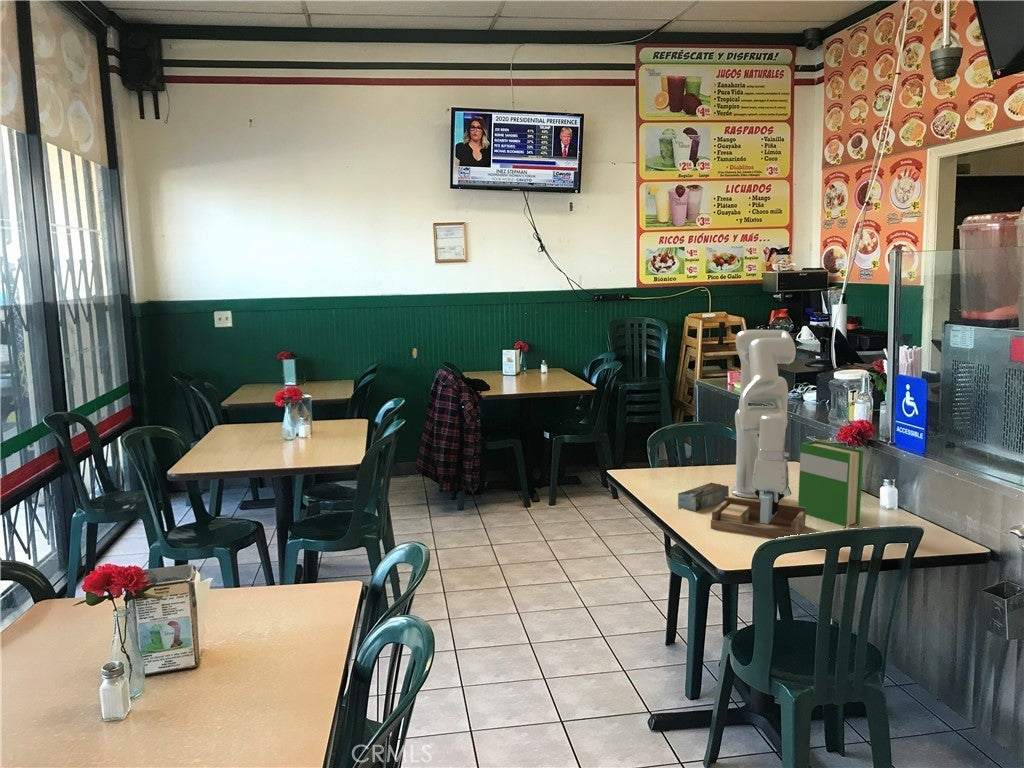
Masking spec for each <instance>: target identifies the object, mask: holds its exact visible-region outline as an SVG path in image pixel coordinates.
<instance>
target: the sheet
mask: <svg viewBox="0 0 1024 768" xmlns="http://www.w3.org/2000/svg"><path fill="white" fill-rule="evenodd" d="M773 500H774V492H768V491H766V492H765V493H764V494H763V496H762V497H761V508H760V523H765V524H768V523H769V522H770V521H771V520H772V518H773V517H774V516H775V515H776V514H777V512H776V513H775V514H774V515H772V502H773Z"/></svg>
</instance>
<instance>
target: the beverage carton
mask: <svg viewBox="0 0 1024 768" xmlns="http://www.w3.org/2000/svg"><path fill="white" fill-rule="evenodd" d="M729 489H730V487H729V486H728V485H724V484H721V483H715V482H709V483H705V484H703V485H700V486H697V487H694V488H692V489H688V490H685V491H681V492H678V493H677V507H678V510H679V509H680V510H682V509H686V510H690V511H694V512H697V511H701V510H703V509H707V508H711V507H714V506H716V505H717V506H718V505H720V504H721V503H722V502H723V501H725V497H726V496H727V497H730V494H729V492H730V491H729Z"/></svg>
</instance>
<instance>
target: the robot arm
mask: <svg viewBox="0 0 1024 768" xmlns="http://www.w3.org/2000/svg"><path fill="white" fill-rule="evenodd" d="M735 348H736V351H737V352H736V353H737V354H738V357H739V360H740V387H739V388H740V397H739V402H738V409H737V410H736V411H735V414H734V424H735V431H736V456H735V486H733V487H732V488H730V492H731V493H730V494H732V495H733V496H736V495H737V496H736V497H740V498H745V499H746V498H749V499H759V501H760V508H761V497H762V496H763V494H764V493H765V492H766V491H768V492H774V500H773V502H772V515H774V514H775V513H776V512H778V504H780V503H779V501H780V500H782V499H783V498H786V497H791V495H792V491H791V489H790V486H789V483H790V481H789V479H790V478H789V465H788V464H789V463H788V460H787V459H786V458H789V457H790V453H789V452H787V451H786V448H785V447H786V429H787V426H788V423H789V421H788V403H789V401H788V400H789V398H788V397H789V387H788V382H787V380H786V378H784V377H782V376H781V375H780V376H779V369H778V364H780V365H781V364H782V365H783V364H787V365H788V364H792V363H793V362H795V361H794V360H795V359H796V354H797V353H796V345H795V341H794V339H793V337H792V336H791V335H790V333H789V331H787V330H785V329H745V330H741V331H739V332H738V333H736V336H735ZM750 403H751V404H772V405H773V406H770V405H769V406H765V405H763V406H762V405H759V406H758V405H749V404H750Z"/></svg>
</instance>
